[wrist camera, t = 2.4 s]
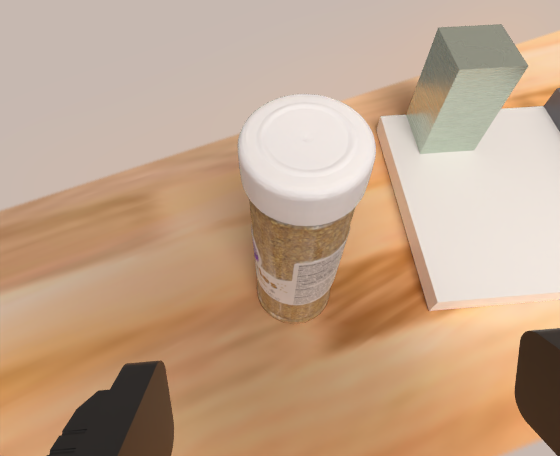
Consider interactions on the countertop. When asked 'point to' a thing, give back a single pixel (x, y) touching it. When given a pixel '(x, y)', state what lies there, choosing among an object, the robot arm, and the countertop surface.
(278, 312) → the spice jar
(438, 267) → the tray
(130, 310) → the countertop surface
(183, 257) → the countertop surface
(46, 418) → the countertop surface
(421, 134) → the tea tin
